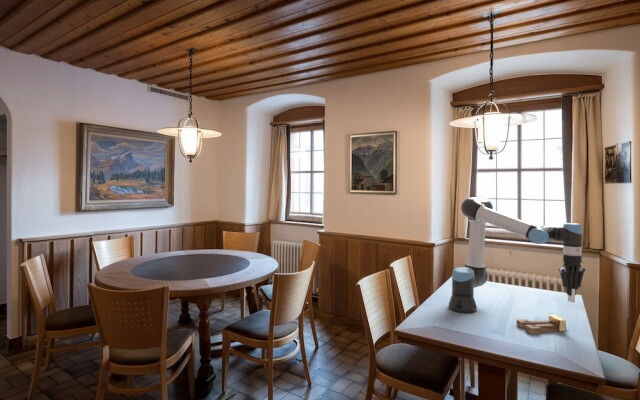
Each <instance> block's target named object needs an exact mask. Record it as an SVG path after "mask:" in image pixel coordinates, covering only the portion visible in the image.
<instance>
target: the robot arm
mask: <svg viewBox="0 0 640 400" xmlns="http://www.w3.org/2000/svg"><path fill="white" fill-rule="evenodd" d="M493 209H494V205H493V203H492V202H491V200H489V198H486V197H484V196H483V197H481V196H480V197H479V196H478V197H469V198H466V199H465V200H463V202H462V203H461V206H460V210H461V213H462V215H464V216H465V217H467V220H468V221H469V237H468V251H467V252H468V253H467V261H465V262H464V266H461V267H460V266H458V267H455V268H453V270H452V272H451V273H452V274H451V278H452V279H451V296H450V299H449V302H448V308H449V309H450V310H451V311H453V312H456V313H460V314H474V313H475V312H477V310H478V309H477V307H478V306H477V303H476V300H475V296H474V292H475V291H474V289H476V288H478V287H482V286H483V285H484V284H486V283H487V281H488V279H489V273H488V271H487V267H486V266H487V265H486V264H485V263H484V260H485V259H484V257H485V256H484V255H485V244H486V243H485V240H486V239H485V238H486V227H487V225H486V224H489V225H492V226H495V227H497V228H500V229H502V230H505V231H507V232H510V233H512V234H515V235H518V236H519V237H523V238H526V239H528V240H529V241H530V242H531V243H533V244H535V245H542V244H545V243H548V242H562V243H563V245H562V246H563V247H562V248H563V249H562V253H563V255H562V262H563V266H562V267H561V268H560V267H559V268H558V271H559V273H560V277H561V283H562V287H564V288H566V295H567V302H570V303H576V295H577V290H579V288H581V287H582V282H583V277H584V273H585V271H586V268H584V267H582V265H581V264H582V258H583V257H582V252H583V251H582V249H583V244H582V243H583V226H582V224H581V223H575V222H573V223H572V222H565V223H564V224H563V226H557V225H544V224H543V225H535V224H532V223H530V222H527V221H524V220H521V219H519V218H516V217H513V216H510V215H509V214H505V213H502V212H500V211H496V210H493Z"/></svg>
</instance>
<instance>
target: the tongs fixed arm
mask: <svg viewBox="0 0 640 400" xmlns="http://www.w3.org/2000/svg"><path fill="white" fill-rule="evenodd" d="M524 331H525V332H526V333H528V334H530V335H540V334H541V333H547V332H548V333H550V332H559V331H558V324H556V323H553V324H534V325H525V328H524Z"/></svg>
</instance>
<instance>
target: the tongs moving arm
mask: <svg viewBox="0 0 640 400" xmlns="http://www.w3.org/2000/svg"><path fill="white" fill-rule="evenodd" d="M553 323H554V322H552V321H550V320H528V319H516V325H517V326H518V327H520V328H524V329H525V325H534V324H553ZM566 329H567V324H566V325H565V330H566Z"/></svg>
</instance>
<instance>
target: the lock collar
mask: <svg viewBox="0 0 640 400" xmlns="http://www.w3.org/2000/svg"><path fill="white" fill-rule="evenodd" d="M548 321H552V322H554V323H556V324H558V331H557V332H565V331H566V329H565V325H566V326H567V321H566V320H565V319H564V318H562V317H560V316H557V315H555V314H549V315H548Z"/></svg>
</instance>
